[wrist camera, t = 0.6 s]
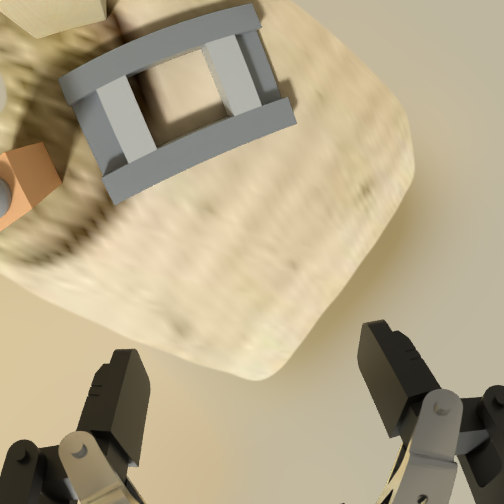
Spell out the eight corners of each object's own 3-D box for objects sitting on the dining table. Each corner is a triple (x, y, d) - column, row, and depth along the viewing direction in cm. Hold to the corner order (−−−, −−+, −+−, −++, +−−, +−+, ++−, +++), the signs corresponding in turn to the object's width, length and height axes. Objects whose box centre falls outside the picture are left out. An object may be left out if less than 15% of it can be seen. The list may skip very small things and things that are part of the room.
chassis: (116, 199, 31) (114, 205, 29) (63, 81, 24) (57, 79, 22) (287, 122, 33) (296, 123, 31) (244, 9, 27) (251, 3, 25)
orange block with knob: (26, 206, 28) (-16, 244, 18) (7, 166, 25) (-44, 190, 16) (62, 183, 28) (27, 213, 19) (42, 141, 26) (-2, 154, 16)
